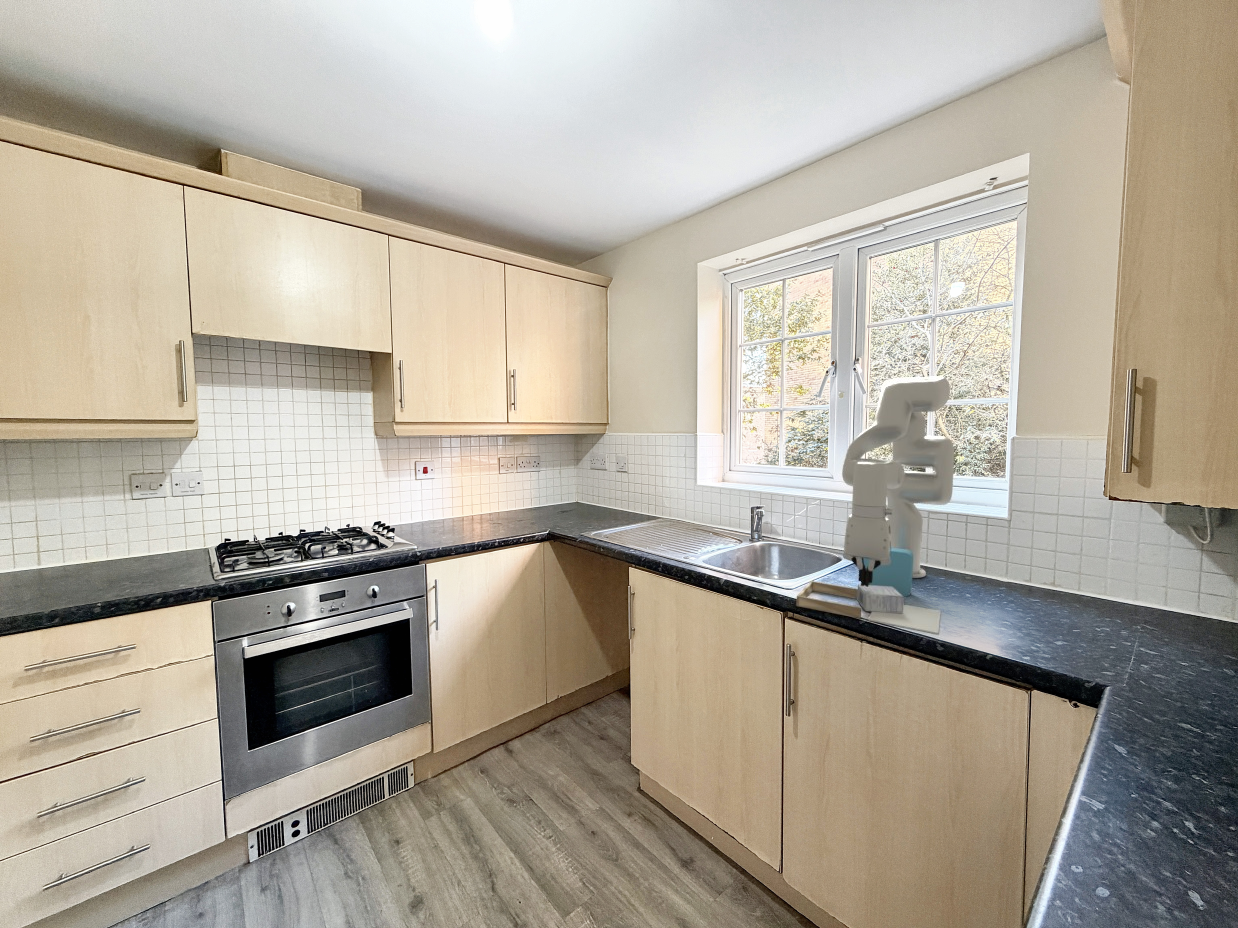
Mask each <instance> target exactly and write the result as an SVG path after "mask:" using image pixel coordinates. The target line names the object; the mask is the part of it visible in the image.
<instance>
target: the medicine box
mask: <svg viewBox="0 0 1238 928" xmlns="http://www.w3.org/2000/svg"><path fill="white" fill-rule="evenodd" d="M857 589H858V595H857V602H858V603H859V604H860V607H862V609H863V610H864V611H865V612H872V611H874V612H890V613H903V607H904V605H905V604H904V601H905V600H904V597H903V596H902V595H901V594H900V593H899V592H898V591H897V590H896V589H895V588H894V587H891V586H875V585H869V586H868V587H866V586H865V585H864V586H861V584H858V585H857Z"/></svg>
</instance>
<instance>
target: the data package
mask: <svg viewBox="0 0 1238 928" xmlns="http://www.w3.org/2000/svg"><path fill="white" fill-rule="evenodd" d="M913 558H914V556H913V553H912V552H911V551H910V550H906V549H898V548H891V552H890V560H891V563H890V564H889V565H879V566H878V567H877V568H875V569H874V570H873V580H872V583H870V584H869V585H875V586H891V587H894V588H895V589H896V590H897V591H898V592H899V593H900V594H901V595H902V596H903V598H904V597H909V596H910V595H911V594H912V593H911V592H912V589H913V578H912V576H913ZM869 561H870V559H869V558H864V565H865V567H866V569H867V567H868V565H869Z"/></svg>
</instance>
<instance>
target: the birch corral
mask: <svg viewBox="0 0 1238 928" xmlns="http://www.w3.org/2000/svg"><path fill="white" fill-rule="evenodd" d="M812 592H818V593H824V594H829V595H834V596H841V597H845V598H852V599H857V595H858V588H857V587H856V588H855V587H850V586H843V585H838V584H833V583H825V582H819V581H814V580H810V581H809V583H808V584H806V586H805V587H804V588H803V589H801V591H800V592H799V593H798V594H797V596H796V602H795V603H796V605H795V606H796V607H801V608H805V609H811V610H816V611H821V612H827V613H832V614H837V615H842V616H847V617H852V618H858V619H862V609H863V607H862V606H856V605H850V604H845V603H840V602H834V601H831V600H830V601H829V600H824V599H819V598H818V599H817V598H813V597H808V596H809V595H811V593H812Z"/></svg>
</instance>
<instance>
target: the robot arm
mask: <svg viewBox="0 0 1238 928" xmlns="http://www.w3.org/2000/svg"><path fill="white" fill-rule="evenodd" d="M880 390H881V392H880V395H879V399H878V403H877V407H876V411H875V415H874V418H873V422H872V425H871V426H870V427H868V428H866V429H865V430H864V431H862V432H861V433H859V435H858V436H856V437H855V438H854V439H853V440H852V442H851V443H850V444H849V446H848V449H847V450H846V453H845V458H844V461H843V464H842V473H841V474H842V475H841V477H842V479H843V482H844V483H845V484H846V485H847V486H850V487H852V499H851V500H852V501H851V502H852V504H851V514H849V515H848V518H847V523H846V528H845V533H844V534H845V536H844V544H843V545H844V546H843V555H842V558H843V559H844V560H846V561H850V562H852V563H853V564H854V565H855V566H856V567H857V569H858V582H860V585H861V586H864V585H865V586H866V587H868V586H869V584H870V583H872V580H873V570H874V569H875V568H877V567H878V566H879V565H889V564H890V563H891V560H890V552H891V548H898V549H906V550H910V551H911V552H912V553H913V556H914V558H913V576H912V579H920V578H924V577H926V573H927V572H926V571H925V570H924V569H923V568H921V558H922V538H923V522H924V521H923V515H922V513H921V512H920V510H919V509H918V508H917V506H916V505H915V504H921V505H922V504H923V505H924V504H925V505H933V506H945V505H947V504H949V503H950V501H951V500H952V495H953V490H954V489H953V488H954V487H953V486H954V468H955V467H954V466H955V465H954V462H955V450H954V449H955V448H954V443H953V442H952V440H951V439H950V438H948V437H946V436H942V435H941V436H940V435H939V436H938V435H927V434H926V422H927V421H926V417H925V415H924V414H923V413H925V412H927V413H931V412H936V411H939V410H940V409H941V408H942V407H943V408H944V407H945V405H946V404H947V403H948V400H949V398H950V395H951V387H950V382H949V381H948V380H947V378H945V377H944V376H929V377H928V376H927V377H926V376H925V377H901V378H899V377H898V378H892V379H888V380H886V381H884V382H883V384H881V389H880ZM922 412H923V413H922ZM891 443H892V453H891V454H892V459H878V458H877V459H876V458H862V457H863V456H864V455H866V454H867V453H868V452H870V451H872V450H874V449H877V448H880V447H882V446H886V445H889V444H891ZM904 467H908V468H909V467H910V468H926V469H932V470H933V471H934V472H925V471H914V470H912V471H911V470H905V468H904ZM864 558H869V559H870V561H869V565H868V567H867V569H866V567H865V565H864Z"/></svg>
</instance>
